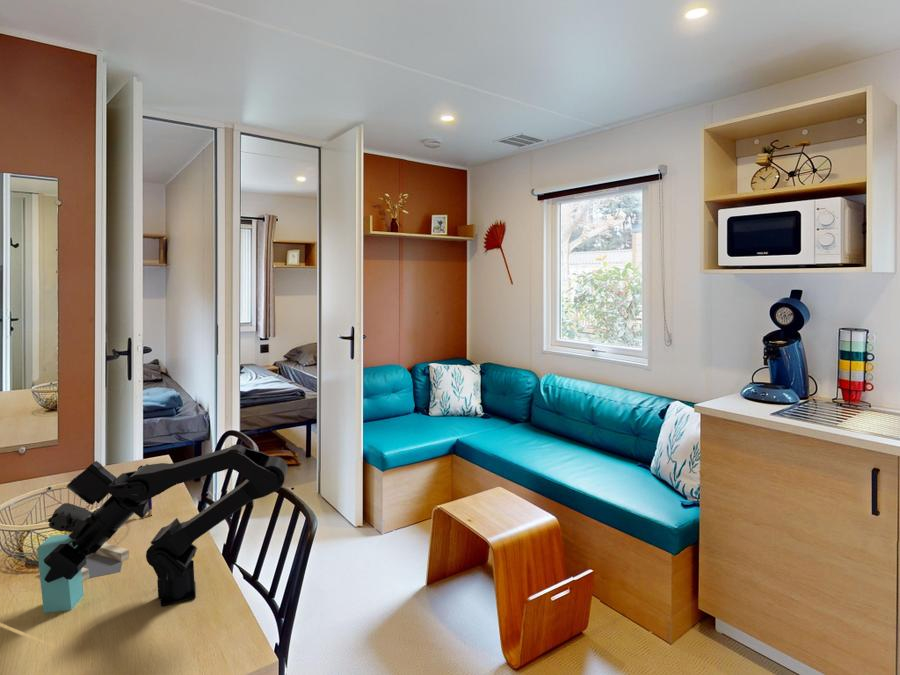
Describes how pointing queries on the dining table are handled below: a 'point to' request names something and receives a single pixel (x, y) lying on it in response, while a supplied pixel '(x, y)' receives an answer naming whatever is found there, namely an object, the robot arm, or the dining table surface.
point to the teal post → (62, 590)
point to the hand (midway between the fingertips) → (54, 573)
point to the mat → (102, 565)
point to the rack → (109, 552)
